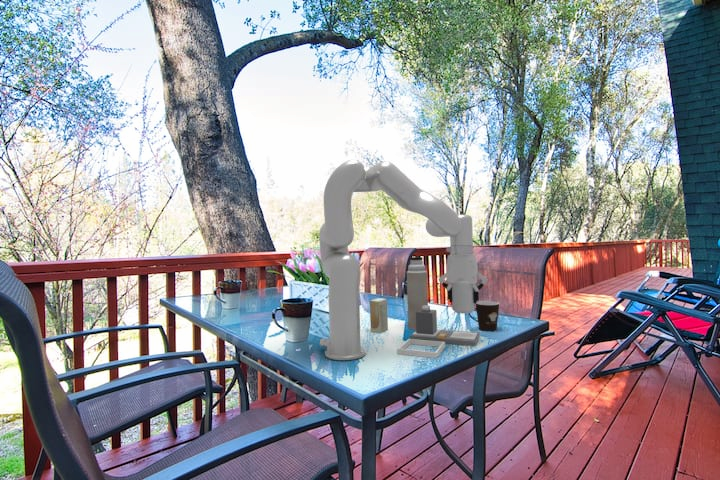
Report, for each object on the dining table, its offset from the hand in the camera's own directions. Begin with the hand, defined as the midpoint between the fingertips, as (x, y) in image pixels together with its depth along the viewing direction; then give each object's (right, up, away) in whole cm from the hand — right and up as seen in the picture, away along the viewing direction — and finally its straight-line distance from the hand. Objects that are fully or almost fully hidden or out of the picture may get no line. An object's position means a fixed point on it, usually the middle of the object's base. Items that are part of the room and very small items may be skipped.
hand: (463, 301), depth 128 cm
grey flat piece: (-6, -13, +3) cm, 15 cm away
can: (0, -4, 0) cm, 4 cm away
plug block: (-12, -12, +5) cm, 17 cm away
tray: (-16, -14, -10) cm, 23 cm away
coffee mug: (+12, -13, +14) cm, 23 cm away
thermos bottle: (-12, -14, +19) cm, 27 cm away
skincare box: (-28, -14, +16) cm, 35 cm away
